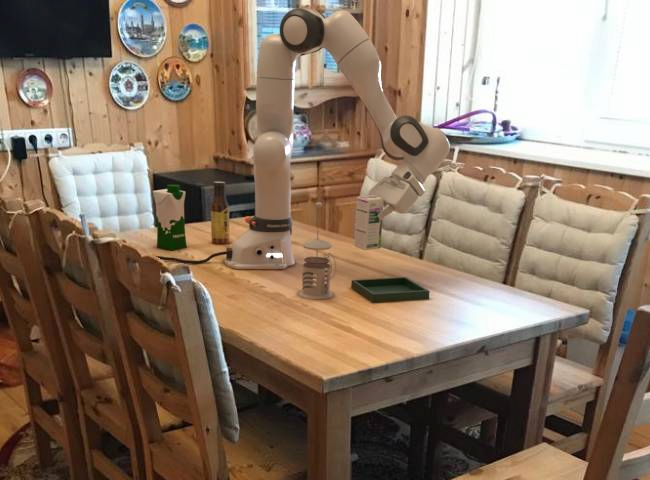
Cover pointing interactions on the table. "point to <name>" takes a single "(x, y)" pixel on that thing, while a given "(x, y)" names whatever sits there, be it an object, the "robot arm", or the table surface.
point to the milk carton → (170, 217)
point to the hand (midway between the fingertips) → (373, 215)
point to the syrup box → (368, 222)
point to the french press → (317, 269)
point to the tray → (389, 289)
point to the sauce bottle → (219, 215)
